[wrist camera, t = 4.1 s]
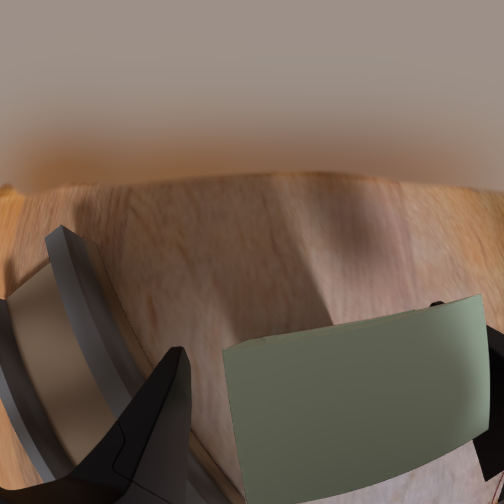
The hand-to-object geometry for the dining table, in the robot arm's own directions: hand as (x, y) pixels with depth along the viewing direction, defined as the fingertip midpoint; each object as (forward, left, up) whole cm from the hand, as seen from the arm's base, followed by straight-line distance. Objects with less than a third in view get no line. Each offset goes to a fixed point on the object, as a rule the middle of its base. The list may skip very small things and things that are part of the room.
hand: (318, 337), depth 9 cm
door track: (+11, +9, -7) cm, 16 cm away
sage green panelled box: (0, +1, -7) cm, 7 cm away
